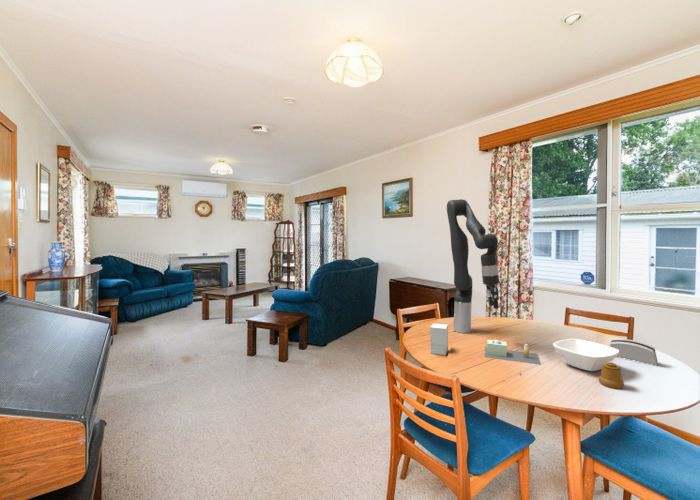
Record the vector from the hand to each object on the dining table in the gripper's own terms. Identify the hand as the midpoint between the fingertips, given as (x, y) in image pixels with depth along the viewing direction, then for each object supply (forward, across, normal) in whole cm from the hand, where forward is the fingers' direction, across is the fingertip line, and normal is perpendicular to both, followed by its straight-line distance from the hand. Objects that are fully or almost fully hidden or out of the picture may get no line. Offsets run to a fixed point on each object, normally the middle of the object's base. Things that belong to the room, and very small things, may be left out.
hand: (494, 306), depth 167 cm
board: (+21, +16, +2) cm, 26 cm away
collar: (+18, +15, -4) cm, 24 cm away
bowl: (+24, +20, +29) cm, 43 cm away
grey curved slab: (+27, +7, +54) cm, 60 cm away
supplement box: (+17, +13, -29) cm, 36 cm away
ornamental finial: (+25, +37, +30) cm, 54 cm away
